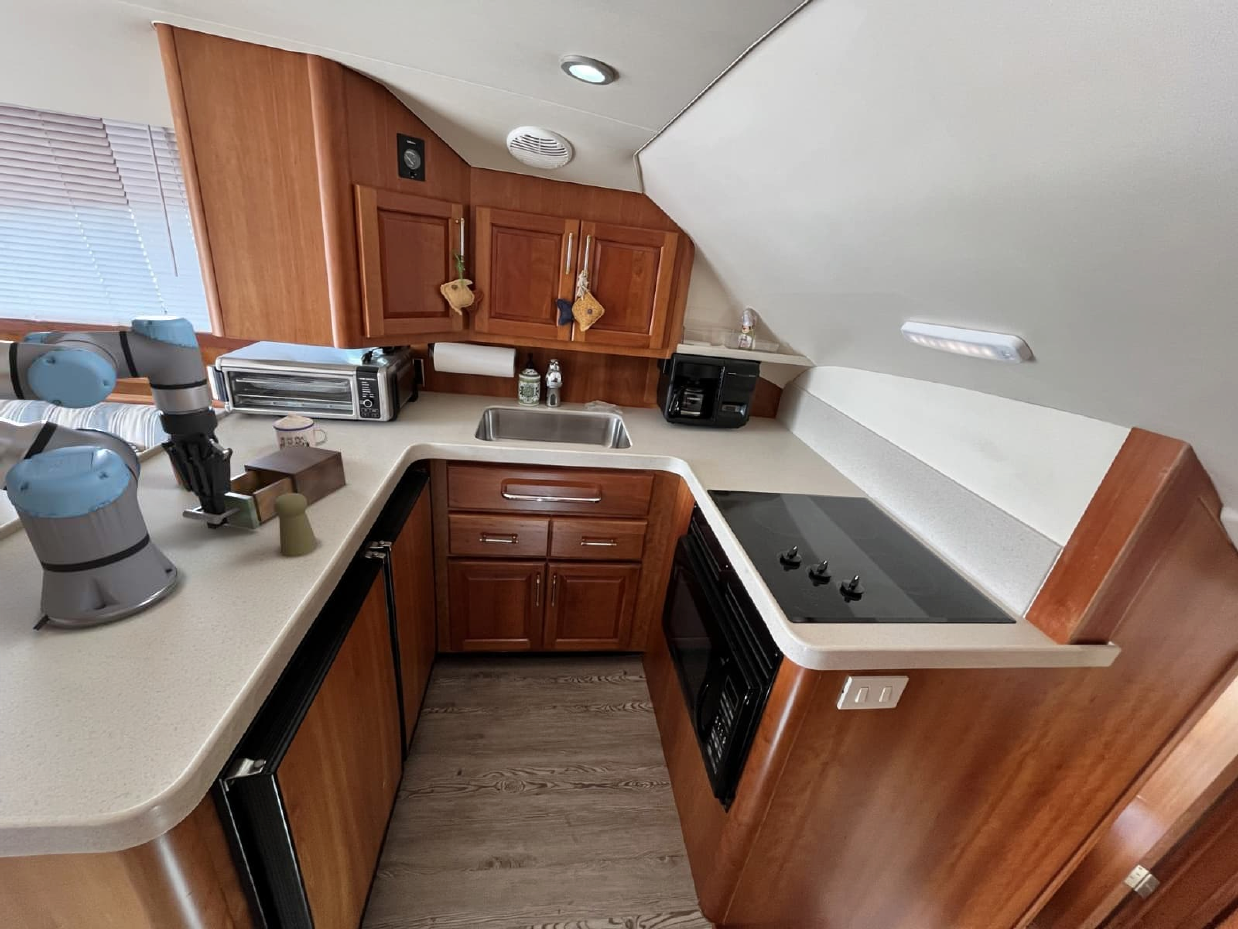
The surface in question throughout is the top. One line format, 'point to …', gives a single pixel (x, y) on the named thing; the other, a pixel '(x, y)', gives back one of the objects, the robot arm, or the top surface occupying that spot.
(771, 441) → the top surface
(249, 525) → the drawer
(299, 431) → the teacup with lid
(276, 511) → the cork
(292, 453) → the cabinet
